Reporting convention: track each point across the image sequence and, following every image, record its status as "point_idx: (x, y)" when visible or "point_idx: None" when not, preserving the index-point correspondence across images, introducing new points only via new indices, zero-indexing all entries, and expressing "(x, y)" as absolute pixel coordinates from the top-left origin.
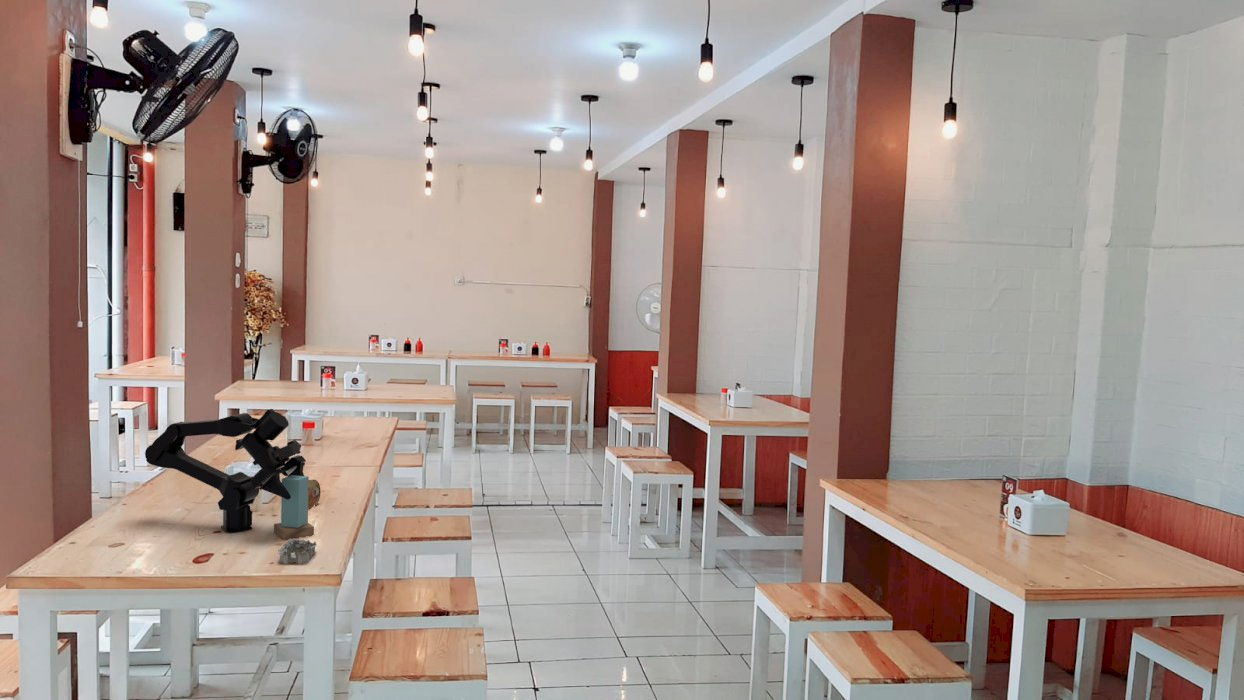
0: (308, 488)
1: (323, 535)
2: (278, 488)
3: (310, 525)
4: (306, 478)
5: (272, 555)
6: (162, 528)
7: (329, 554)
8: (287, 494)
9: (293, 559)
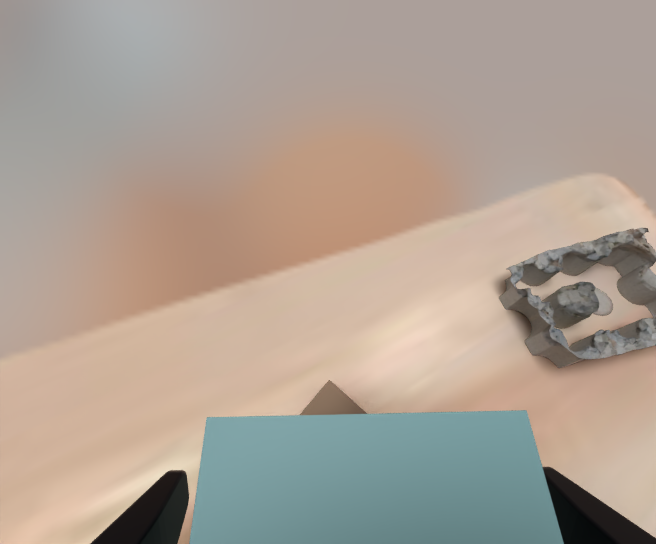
0: (176, 474)
1: (313, 350)
2: None
3: (313, 409)
4: (282, 417)
5: (621, 409)
6: None
7: (494, 235)
8: (593, 503)
9: (630, 290)
